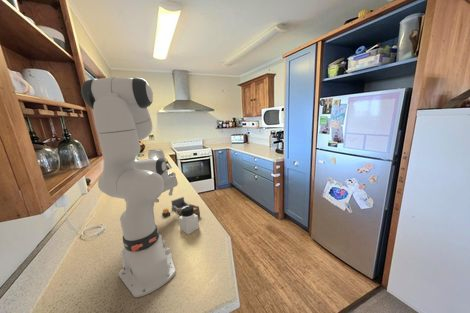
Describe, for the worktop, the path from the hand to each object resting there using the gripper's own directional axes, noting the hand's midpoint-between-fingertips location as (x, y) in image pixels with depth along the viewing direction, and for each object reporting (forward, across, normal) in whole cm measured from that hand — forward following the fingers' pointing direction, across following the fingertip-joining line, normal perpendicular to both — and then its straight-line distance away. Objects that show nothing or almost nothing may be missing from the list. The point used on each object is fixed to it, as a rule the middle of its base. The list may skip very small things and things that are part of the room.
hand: (164, 198), depth 105 cm
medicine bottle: (+10, +4, +24) cm, 26 cm away
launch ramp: (+11, -6, +13) cm, 18 cm away
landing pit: (+11, -9, +2) cm, 14 cm away
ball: (+8, +1, 0) cm, 8 cm away
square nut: (+10, +1, 0) cm, 10 cm away
